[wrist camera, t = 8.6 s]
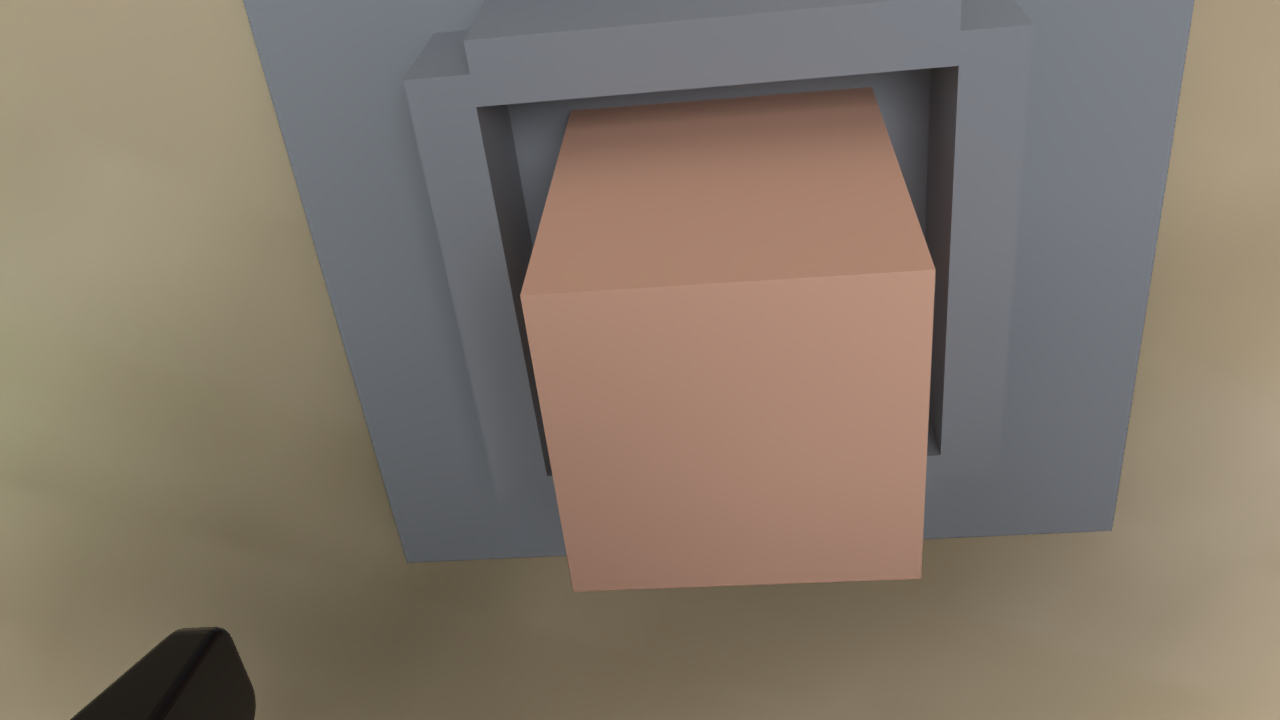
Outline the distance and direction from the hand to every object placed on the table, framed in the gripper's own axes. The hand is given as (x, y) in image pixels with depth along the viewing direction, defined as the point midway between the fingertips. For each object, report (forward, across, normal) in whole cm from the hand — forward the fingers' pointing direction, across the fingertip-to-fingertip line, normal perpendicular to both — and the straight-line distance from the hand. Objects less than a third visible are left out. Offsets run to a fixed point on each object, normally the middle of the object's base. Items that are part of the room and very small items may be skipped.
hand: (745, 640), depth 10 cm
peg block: (+8, 0, 0) cm, 8 cm away
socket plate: (+8, 0, 0) cm, 9 cm away
